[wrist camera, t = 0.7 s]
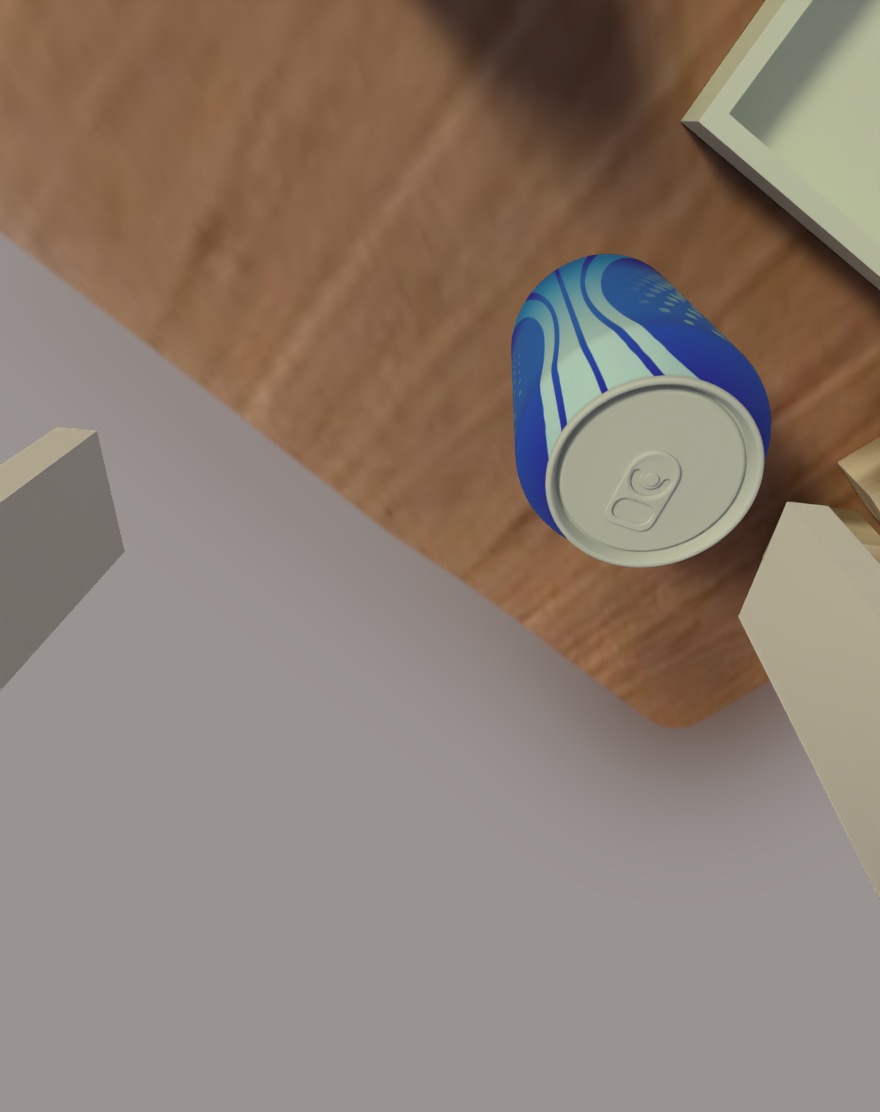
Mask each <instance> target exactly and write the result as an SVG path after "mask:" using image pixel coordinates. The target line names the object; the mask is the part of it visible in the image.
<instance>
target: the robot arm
mask: <svg viewBox="0 0 880 1112" xmlns="http://www.w3.org/2000/svg"><path fill="white" fill-rule="evenodd" d="M123 553H124V548H123V543H122V539H121V535H120V530H119V526H118V521H117V517H116V513H115V508H114V504H113V500H112V495H111V491H110V487H109V482H108V478H107V473H106V469H105V465H104V461H103V456H102V452H101V448H100V443H99V439H98V434H97V431H91V430H81V429H72V428H62V427H57V428H55V429H54V430H52V431H51V432H49V433H48V434H46V435H45V436H43V437H42V438H40V439H39V440H37V441H36V442H34V443H33V444H31V445H30V446H28V447H27V448H25V449H24V450H22V451H21V452H19V453H18V454H16V455H15V456H13V457H12V458H10V459H9V460H7V461H6V462H4V463H3V464H1V465H0V690H1V689H2V688H3V687H4V686H5V684H7V682H8V681H9V680H10V679H11V678H12V677H13V676H14V675H15V673H16V672H17V671H18V670H19V669H20V668H21V667H22V666H23V665H24V663H25V662H26V661H27V660H28V659H29V658H30V657H31V656H32V654H33V653H34V652H35V651H36V650H37V649H38V648H39V647H40V646H41V644H42V643H43V642H44V641H45V640H46V639H47V638H48V637H49V635H50V634H51V633H52V632H53V631H54V630H55V629H56V628H57V626H58V625H59V624H60V623H61V622H62V621H63V620H64V619H65V617H66V616H67V615H68V614H69V613H70V612H71V611H72V610H73V609H74V607H75V606H76V605H77V604H78V603H79V602H80V601H81V600H82V598H83V597H84V596H85V595H86V594H87V593H88V592H89V591H90V590H91V588H92V587H93V586H94V585H95V584H96V583H97V582H98V581H99V579H100V578H101V577H102V576H103V575H104V574H105V573H106V571H108V569H109V568H110V567H111V566H112V565H113V564H114V563H115V561H116V560H117V559H118V558H119V557H120V556H121V555H122V554H123ZM738 617H739V619H740V621H741V623H742V625H743V627H744V629H745V631H746V633H747V635H748V637H749V639H750V641H751V643H752V645H753V647H754V649H755V651H756V653H757V655H758V657H759V659H760V661H761V663H762V665H763V667H764V669H765V671H766V673H767V675H768V677H769V679H770V681H771V683H772V685H773V687H774V689H775V691H776V693H777V695H778V697H779V699H780V701H781V703H782V705H783V707H784V709H785V711H786V713H787V715H788V717H789V719H790V721H791V723H792V725H793V727H794V729H795V731H796V733H797V735H798V737H799V739H800V741H801V743H802V745H803V747H804V749H805V751H806V753H807V755H808V757H809V759H810V761H811V764H812V766H813V767H814V770H815V772H816V773H817V775H818V777H819V780H820V782H821V784H822V785H823V787H824V790H825V792H826V794H827V795H828V797H829V799H830V802H831V803H832V805H833V808H834V810H835V812H836V814H837V816H838V818H839V819H840V821H841V824H842V826H843V828H844V830H845V832H846V834H847V836H848V838H849V840H850V842H851V844H852V846H853V848H854V850H855V852H856V854H857V856H858V858H859V860H860V862H861V864H862V866H863V868H864V870H865V872H866V874H867V876H868V878H869V880H870V882H871V884H872V886H873V888H874V890H875V892H876V894H877V896H878V898H879V900H880V564H879V563H878V561H877V560H876V559H875V558H874V557H873V556H872V555H871V554H870V552H869V551H868V550H867V549H866V548H865V547H864V546H863V545H862V543H861V542H860V541H859V540H858V539H857V538H856V537H855V536H854V534H853V533H852V532H851V531H850V530H849V529H848V528H847V527H846V525H845V524H844V523H843V522H842V521H841V520H840V519H839V518H838V516H837V515H836V514H835V513H834V512H833V511H832V510H831V509H830V507H829V506H823V505H814V504H804V503H794V502H787V503H786V505H785V508H784V510H783V512H782V515H781V517H780V519H779V522H778V524H777V527H776V529H775V531H774V534H773V536H772V538H771V541H770V543H769V545H768V548H767V550H766V553H765V555H764V557H763V560H762V562H761V564H760V567H759V569H758V571H757V574H756V576H755V579H754V581H753V583H752V586H751V588H750V590H749V593H748V595H747V597H746V600H745V602H744V605H743V607H742V609H741V612H740V614H739V616H738Z"/></svg>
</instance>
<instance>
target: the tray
mask: <svg viewBox="0 0 880 1112" xmlns="http://www.w3.org/2000/svg"><path fill="white" fill-rule="evenodd" d="M681 122H682V123H683V124H684V125H685V126H687V127H688V128H689V129H690V130H691V131H693V132H694V133H695V134H696V135H697V136H698V137H700V138H701V139H702V140H703V141H704V142H705V143H707V144H708V145H709V146H710V147H711V148H713V149H714V150H715V151H716V152H717V153H718V154H720V155H721V156H722V157H723V158H724V159H726V160H727V161H728V162H729V163H730V164H731V165H733V166H734V167H735V168H736V169H737V170H739V171H740V172H741V173H742V174H743V175H744V176H746V177H747V178H748V179H749V180H750V181H751V182H753V183H754V184H755V185H756V186H757V187H759V188H760V189H761V190H762V191H763V192H764V193H766V194H767V195H768V196H769V197H770V198H772V199H773V200H774V201H775V202H776V203H777V204H779V205H780V206H781V207H782V208H783V209H784V210H786V211H787V212H788V213H789V214H790V215H792V216H793V217H794V218H795V219H796V220H797V221H799V222H800V223H801V224H802V225H803V226H805V227H806V228H807V229H808V230H809V231H810V232H812V233H813V234H814V235H815V236H816V237H818V238H819V239H820V240H821V241H822V242H823V243H825V244H826V245H827V246H828V247H829V248H830V249H832V250H833V251H834V252H835V253H836V254H838V255H839V256H840V257H841V258H842V259H843V260H845V261H846V262H847V263H848V264H849V265H851V266H852V267H853V268H854V269H855V270H856V271H858V272H859V273H860V274H861V275H862V276H863V277H865V278H866V279H867V280H868V281H869V282H871V283H872V284H873V285H874V286H875V287H876V288H878V289H879V290H880V0H766V1H765V2H764V3H763V5H762V6H761V8H760V9H759V10H758V12H757V13H756V15H755V16H754V18H753V19H752V20H751V22H750V23H749V25H748V26H747V28H746V29H745V30H744V32H743V33H742V35H741V36H740V37H739V39H738V40H737V42H736V43H735V45H734V46H733V47H732V49H731V50H730V52H729V53H728V55H727V56H726V57H725V59H724V60H723V62H722V63H721V64H720V66H719V67H718V69H717V70H716V72H715V73H714V74H713V76H712V77H711V79H710V80H709V82H708V83H707V84H706V86H705V87H704V89H703V90H702V91H701V93H700V94H699V96H698V97H697V99H696V100H695V101H694V103H693V104H692V106H691V107H690V108H689V110H688V111H687V113H686V114H685V116H684V117H683V118H682V120H681Z"/></svg>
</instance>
